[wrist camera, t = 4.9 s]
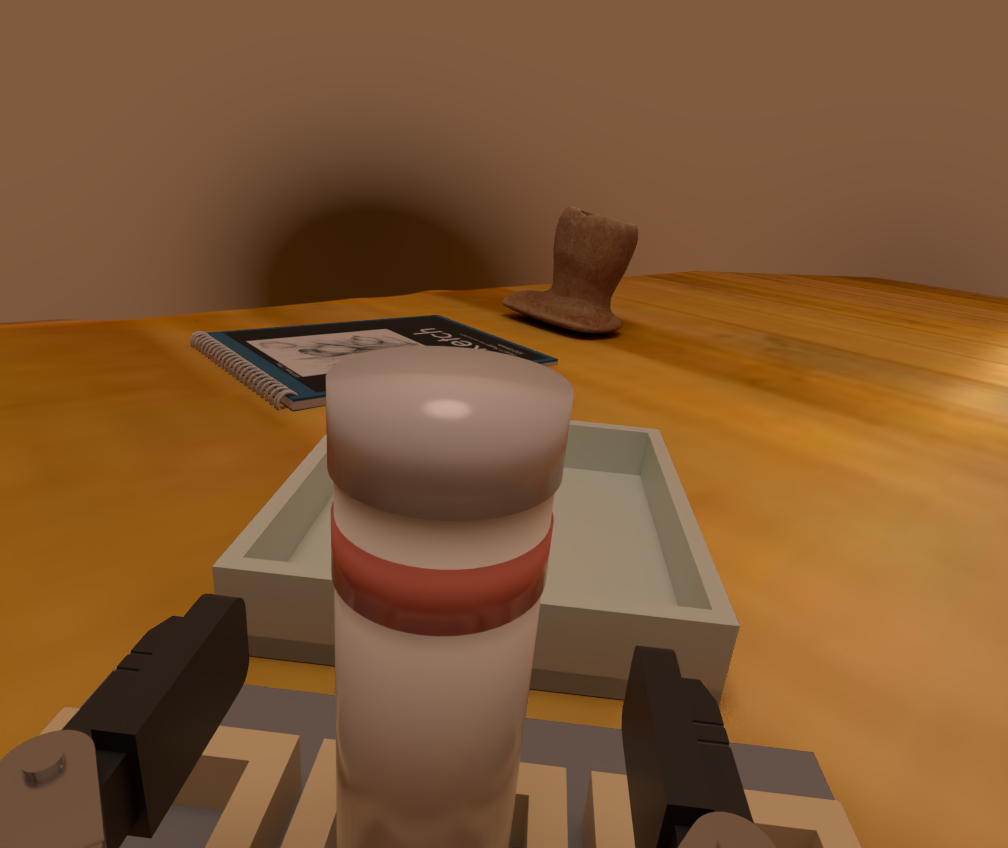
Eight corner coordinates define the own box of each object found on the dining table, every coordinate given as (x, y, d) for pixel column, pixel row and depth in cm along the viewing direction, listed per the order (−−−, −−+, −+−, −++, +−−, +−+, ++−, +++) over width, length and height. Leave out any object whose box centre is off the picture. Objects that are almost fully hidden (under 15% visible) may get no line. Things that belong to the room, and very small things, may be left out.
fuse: (303, 915, 16) (281, 361, 11) (437, 822, 19) (472, 337, 13) (392, 1080, 13) (419, 447, 8) (535, 945, 16) (624, 397, 11)
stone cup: (642, 335, 86) (662, 214, 80) (578, 344, 78) (595, 212, 73) (561, 310, 96) (574, 202, 91) (498, 316, 89) (508, 199, 84)
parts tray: (220, 652, 26) (212, 566, 25) (356, 454, 44) (357, 398, 43) (717, 710, 25) (739, 626, 24) (648, 485, 44) (658, 429, 42)
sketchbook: (556, 371, 69) (559, 352, 69) (281, 422, 50) (280, 396, 50) (436, 323, 84) (437, 307, 83) (187, 349, 65) (186, 328, 64)
